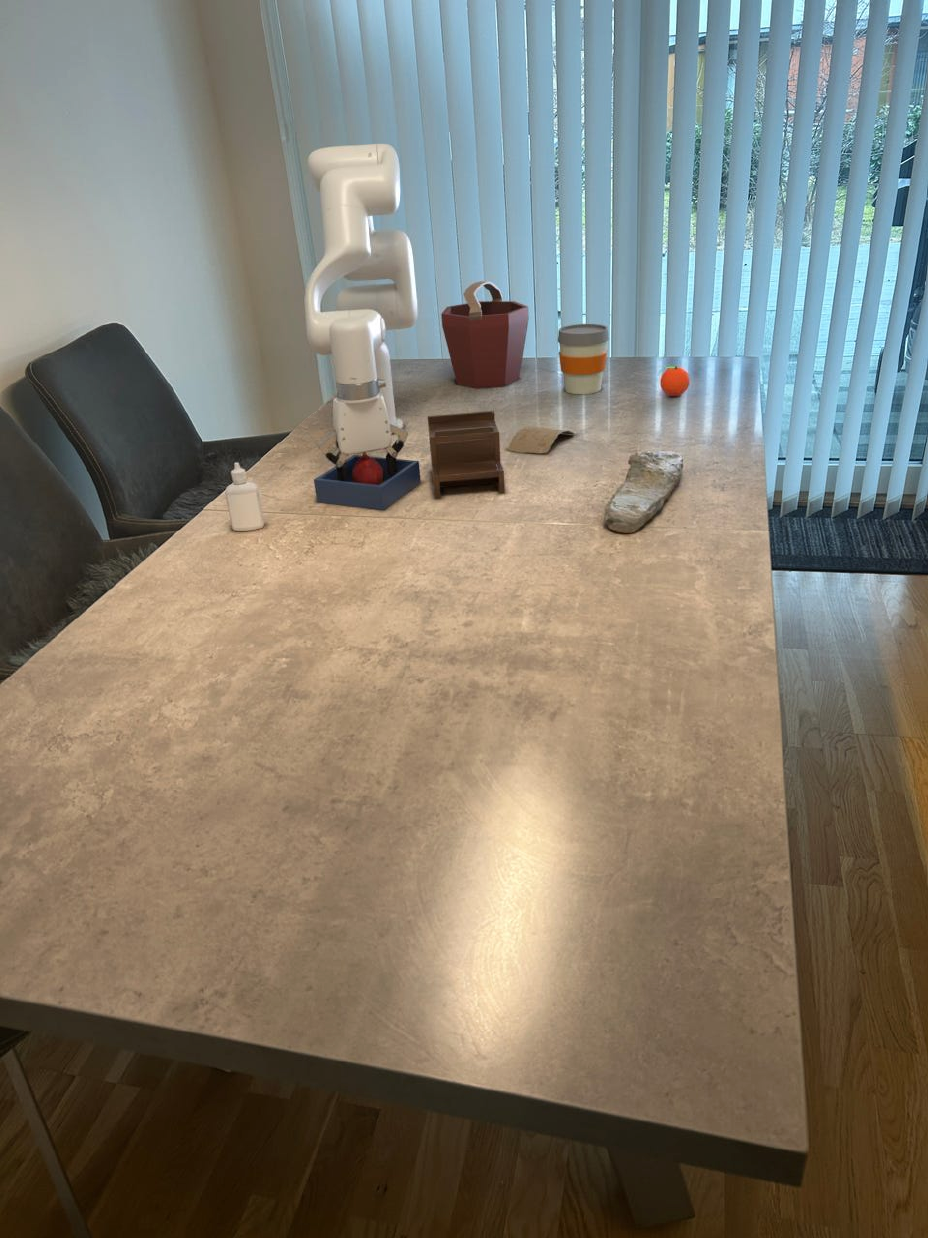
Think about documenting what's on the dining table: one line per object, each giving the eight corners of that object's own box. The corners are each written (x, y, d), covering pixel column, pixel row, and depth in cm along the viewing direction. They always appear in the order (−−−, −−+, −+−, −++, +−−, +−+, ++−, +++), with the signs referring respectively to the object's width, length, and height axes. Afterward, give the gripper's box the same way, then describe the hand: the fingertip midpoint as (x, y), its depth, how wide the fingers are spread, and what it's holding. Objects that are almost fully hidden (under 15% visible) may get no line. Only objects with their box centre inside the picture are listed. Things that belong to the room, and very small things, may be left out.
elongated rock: (588, 537, 149) (647, 547, 145) (589, 509, 146) (649, 518, 142) (641, 459, 175) (691, 466, 172) (643, 434, 172) (694, 440, 169)
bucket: (496, 395, 226) (491, 292, 214) (425, 387, 237) (417, 289, 225) (542, 372, 244) (540, 275, 232) (475, 366, 255) (469, 273, 243)
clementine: (650, 397, 216) (652, 367, 212) (662, 390, 221) (664, 361, 217) (682, 400, 212) (683, 370, 208) (693, 393, 217) (695, 364, 213)
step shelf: (504, 493, 166) (502, 433, 160) (435, 499, 165) (430, 439, 160) (496, 466, 179) (493, 410, 173) (432, 472, 178) (427, 415, 173)
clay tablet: (548, 455, 183) (547, 442, 182) (505, 449, 188) (504, 437, 186) (577, 435, 193) (577, 423, 192) (536, 430, 198) (536, 418, 197)
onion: (390, 488, 172) (386, 448, 168) (375, 499, 167) (370, 458, 163) (364, 485, 174) (359, 446, 170) (349, 496, 169) (343, 455, 166)
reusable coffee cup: (553, 385, 231) (553, 325, 224) (601, 381, 232) (602, 321, 225) (563, 397, 220) (563, 335, 213) (613, 393, 221) (614, 331, 214)
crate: (317, 502, 168) (313, 479, 165) (356, 476, 179) (354, 454, 177) (384, 510, 162) (381, 486, 160) (421, 482, 173) (419, 460, 171)
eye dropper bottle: (255, 533, 156) (242, 468, 150) (228, 530, 158) (215, 466, 152) (268, 524, 159) (257, 460, 154) (242, 521, 161) (230, 457, 156)
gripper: (397, 378, 166) (406, 467, 175) (306, 392, 162) (319, 482, 170) (409, 387, 160) (417, 478, 169) (314, 401, 155) (328, 494, 164)
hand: (368, 480), depth 169 cm, fingers open, 8 cm apart
